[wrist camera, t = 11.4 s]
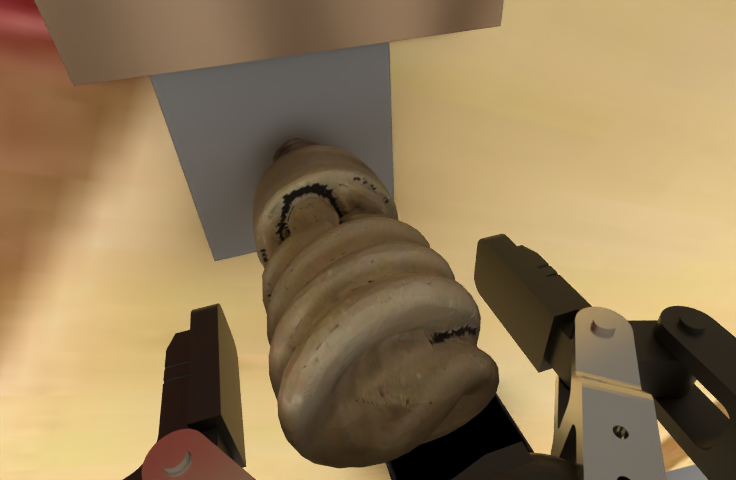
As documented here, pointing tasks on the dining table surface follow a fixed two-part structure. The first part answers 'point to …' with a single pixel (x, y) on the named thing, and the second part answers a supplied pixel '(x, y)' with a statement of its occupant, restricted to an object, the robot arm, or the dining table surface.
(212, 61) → the socket block
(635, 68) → the dining table surface
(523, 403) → the dining table surface
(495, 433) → the vase
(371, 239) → the tan ridged rounded piece
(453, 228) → the dining table surface
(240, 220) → the mat
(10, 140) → the dining table surface
